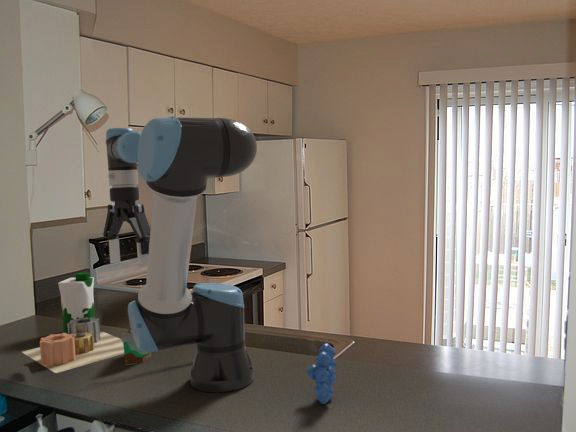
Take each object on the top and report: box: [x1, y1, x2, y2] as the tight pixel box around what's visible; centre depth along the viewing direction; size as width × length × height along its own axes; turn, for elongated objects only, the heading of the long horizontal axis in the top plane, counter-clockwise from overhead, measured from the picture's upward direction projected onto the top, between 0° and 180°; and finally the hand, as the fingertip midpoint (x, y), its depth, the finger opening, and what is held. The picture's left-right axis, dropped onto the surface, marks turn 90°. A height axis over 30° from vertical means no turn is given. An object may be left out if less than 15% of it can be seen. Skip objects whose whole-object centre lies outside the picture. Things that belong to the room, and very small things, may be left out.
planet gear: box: [39, 332, 76, 366], centre depth 146 cm, size 8×8×6 cm
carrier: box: [21, 331, 124, 374], centre depth 154 cm, size 24×24×6 cm
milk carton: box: [57, 271, 96, 334], centre depth 170 cm, size 9×9×20 cm
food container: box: [121, 327, 152, 366], centre depth 145 cm, size 12×6×10 cm, turn 179°
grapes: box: [306, 342, 338, 405], centre depth 120 cm, size 12×7×12 cm, turn 164°
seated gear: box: [67, 317, 101, 343], centre depth 161 cm, size 8×8×6 cm
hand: (129, 264), depth 150 cm, fingers open, 13 cm apart
